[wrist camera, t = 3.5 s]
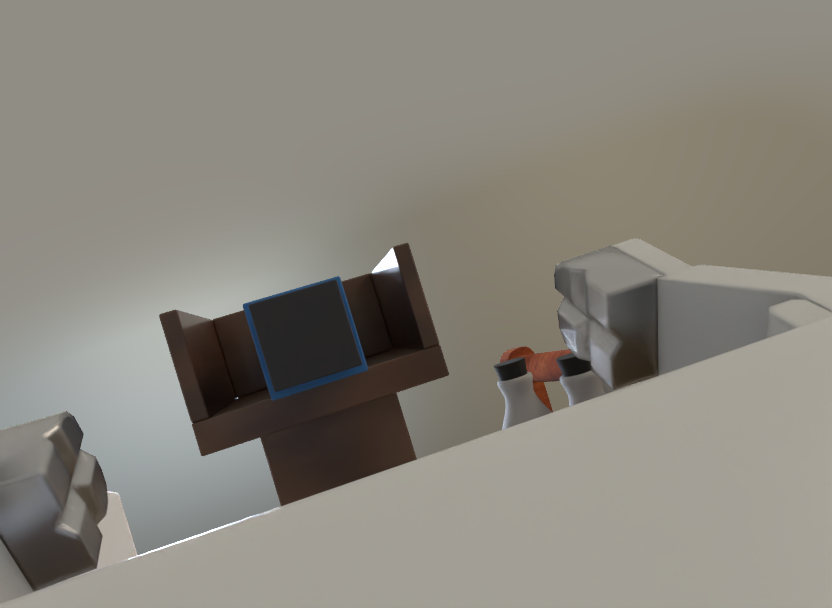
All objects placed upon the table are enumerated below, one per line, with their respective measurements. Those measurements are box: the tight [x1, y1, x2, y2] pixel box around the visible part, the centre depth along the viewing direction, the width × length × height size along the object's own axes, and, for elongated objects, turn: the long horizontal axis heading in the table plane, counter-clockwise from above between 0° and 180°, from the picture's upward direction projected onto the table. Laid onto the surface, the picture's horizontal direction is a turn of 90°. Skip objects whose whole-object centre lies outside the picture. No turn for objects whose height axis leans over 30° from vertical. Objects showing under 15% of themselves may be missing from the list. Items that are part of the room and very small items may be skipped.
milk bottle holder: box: [494, 347, 654, 430], centre depth 54 cm, size 21×35×19 cm, turn 24°
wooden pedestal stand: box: [159, 243, 449, 506], centre depth 36 cm, size 12×12×29 cm
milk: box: [54, 491, 138, 585], centre depth 55 cm, size 6×6×22 cm
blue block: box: [243, 276, 368, 401], centre depth 31 cm, size 4×18×4 cm, turn 9°
